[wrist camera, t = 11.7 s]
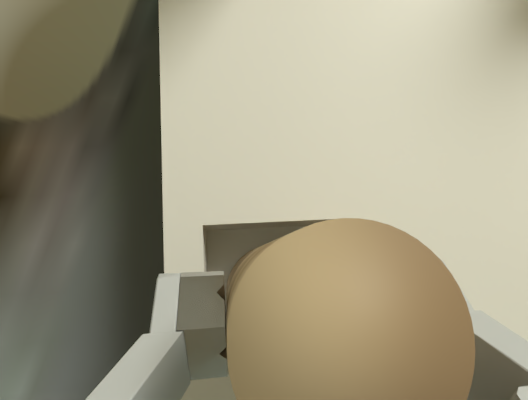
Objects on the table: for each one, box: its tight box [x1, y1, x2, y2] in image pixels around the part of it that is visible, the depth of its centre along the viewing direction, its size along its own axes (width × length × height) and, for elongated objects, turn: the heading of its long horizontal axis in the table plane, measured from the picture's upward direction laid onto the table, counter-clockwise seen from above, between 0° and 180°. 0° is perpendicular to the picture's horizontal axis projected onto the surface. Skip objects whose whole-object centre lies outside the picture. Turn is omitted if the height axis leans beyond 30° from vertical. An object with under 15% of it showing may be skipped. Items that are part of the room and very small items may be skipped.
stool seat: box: [159, 0, 528, 400], centre depth 15 cm, size 24×24×12 cm
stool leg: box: [226, 218, 475, 400], centre depth 11 cm, size 4×4×11 cm
